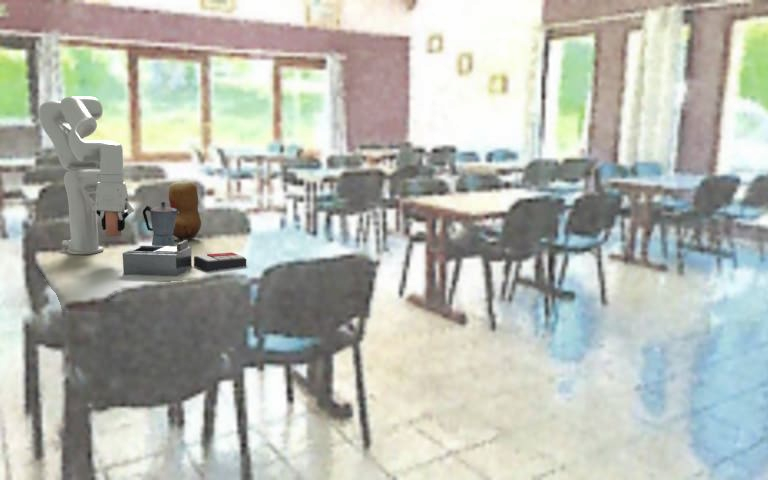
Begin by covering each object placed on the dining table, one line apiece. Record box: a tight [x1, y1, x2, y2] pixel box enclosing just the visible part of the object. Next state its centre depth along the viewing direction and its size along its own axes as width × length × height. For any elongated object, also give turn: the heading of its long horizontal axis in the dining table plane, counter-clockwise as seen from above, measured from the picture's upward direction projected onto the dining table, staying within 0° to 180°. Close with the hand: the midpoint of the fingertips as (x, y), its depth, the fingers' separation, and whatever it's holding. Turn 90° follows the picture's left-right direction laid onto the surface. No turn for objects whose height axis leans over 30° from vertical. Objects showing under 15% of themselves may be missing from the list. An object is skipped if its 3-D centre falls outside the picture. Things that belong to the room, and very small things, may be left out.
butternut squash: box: [168, 179, 202, 241], centre depth 281 cm, size 14×13×25 cm
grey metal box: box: [122, 244, 193, 277], centre depth 228 cm, size 18×14×7 cm
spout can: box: [105, 211, 122, 237], centre depth 237 cm, size 5×6×10 cm
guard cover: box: [156, 240, 190, 253], centre depth 226 cm, size 8×8×3 cm
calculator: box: [193, 252, 247, 272], centre depth 237 cm, size 11×4×15 cm
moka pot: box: [142, 201, 179, 246], centre depth 252 cm, size 10×15×20 cm, turn 78°
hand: (113, 229), depth 237 cm, fingers closed on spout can, 5 cm apart
